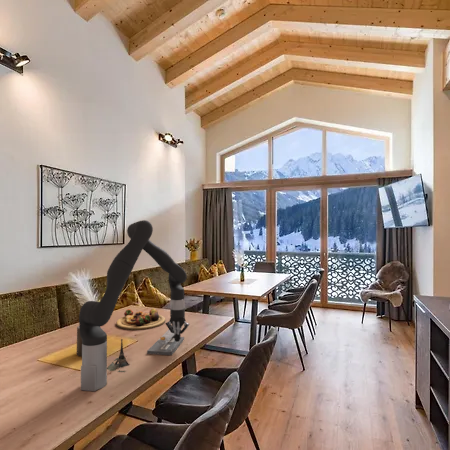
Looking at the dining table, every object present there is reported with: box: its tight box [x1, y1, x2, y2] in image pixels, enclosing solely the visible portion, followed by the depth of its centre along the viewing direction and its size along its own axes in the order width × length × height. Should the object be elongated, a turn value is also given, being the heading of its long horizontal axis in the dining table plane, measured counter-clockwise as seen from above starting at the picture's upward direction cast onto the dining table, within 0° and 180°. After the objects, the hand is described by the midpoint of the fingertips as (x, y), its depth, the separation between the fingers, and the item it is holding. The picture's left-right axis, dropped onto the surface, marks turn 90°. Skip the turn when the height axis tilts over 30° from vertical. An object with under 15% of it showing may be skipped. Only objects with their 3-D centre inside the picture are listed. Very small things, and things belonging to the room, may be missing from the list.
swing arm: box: [157, 329, 174, 344], centre depth 166 cm, size 21×4×6 cm, turn 172°
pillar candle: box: [75, 325, 82, 358], centre depth 157 cm, size 10×10×15 cm
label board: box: [146, 336, 185, 356], centre depth 165 cm, size 22×13×2 cm, turn 172°
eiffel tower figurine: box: [107, 338, 130, 373], centre depth 143 cm, size 15×10×13 cm
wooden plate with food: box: [115, 307, 166, 331], centre depth 208 cm, size 32×32×8 cm
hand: (177, 341), depth 161 cm, fingers closed
